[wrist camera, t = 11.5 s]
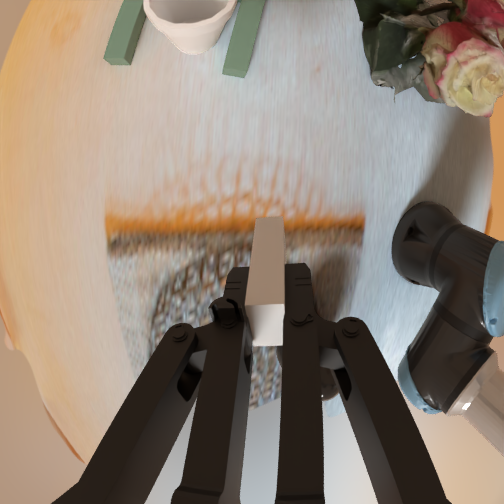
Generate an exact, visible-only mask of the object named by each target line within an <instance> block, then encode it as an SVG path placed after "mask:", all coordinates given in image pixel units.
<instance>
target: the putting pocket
mask: <svg viewBox="0 0 504 504" xmlns="http://www.w3.org/2000/svg"><path fill="white" fill-rule="evenodd" d="M237 2H240V3H241V4H240V8H239V11H238V14H237V18H236V21H235V25H234V28H233V32H232V36H231V39H230V43H229V47H228V51H227V55H226V59H225V63H224V67H223V73H222V74H224V75H230V76H236V77H241V78H244V77H245V75H246V73H247V71H248V66H249V62H250V58H251V54H252V50H253V46H254V42H255V38H256V34H257V30H258V26H259V22H260V18H261V14H262V10H263V7H264V3H265V0H237ZM145 18H146V13H145V11H144V5H143V0H124V1H123V3H122V6H121V8H120V11H119V13H118V16H117V19H116V21H115V24H114V27H113V30H112V33H111V36H110V39H109V42H108V45H107V48H106V51H105V55H104V58H103V59H105V60H106V61H107V62H108V63H110V64H111V65H131V62H132V58H133V55H134V52H135V48H136V45H137V42H138V39H139V35H140V32H141V29H142V26H143V24H144V21H145Z"/></svg>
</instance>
